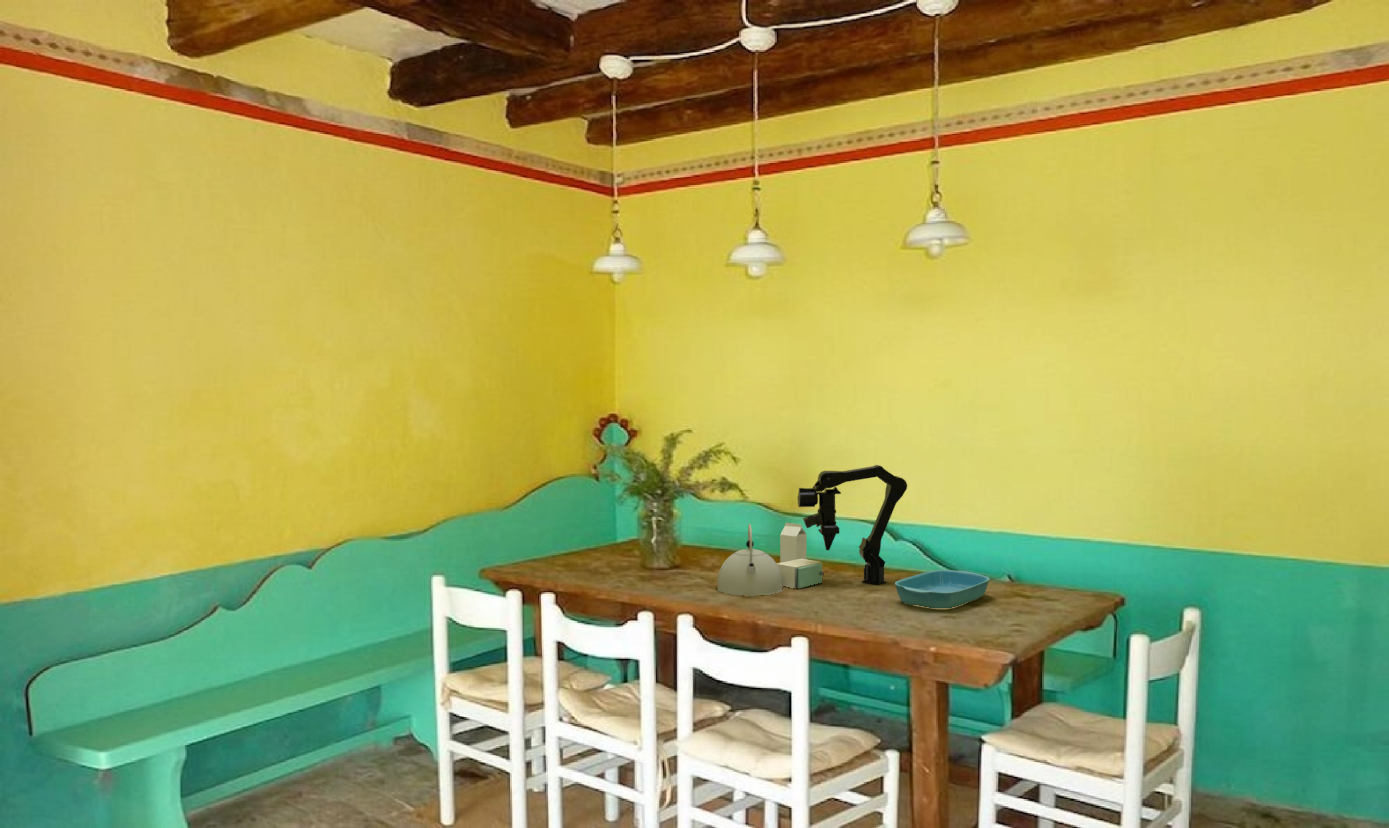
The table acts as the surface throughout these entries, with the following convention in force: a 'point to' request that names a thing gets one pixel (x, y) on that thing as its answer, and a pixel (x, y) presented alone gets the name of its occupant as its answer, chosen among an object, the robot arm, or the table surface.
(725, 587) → the kettle
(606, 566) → the table surface
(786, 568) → the cupboard
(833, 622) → the table surface
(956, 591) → the casserole dish
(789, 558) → the milk carton
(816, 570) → the door
